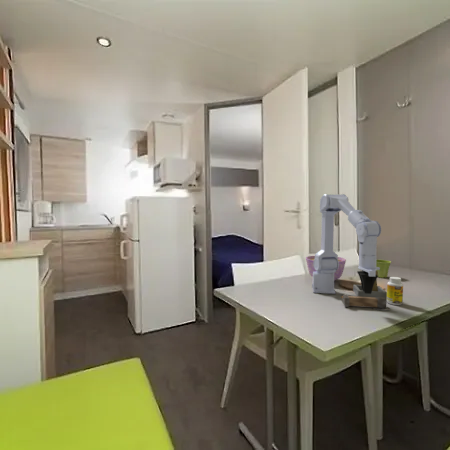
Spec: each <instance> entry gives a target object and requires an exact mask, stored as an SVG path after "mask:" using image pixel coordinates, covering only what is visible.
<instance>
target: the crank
mask: <svg viewBox="0 0 450 450" xmlns="http://www.w3.org/2000/svg"><path fill="white" fill-rule="evenodd" d="M342 296H343V298H342V304H343V306H344V307H345V308H347V307H364V308H365V307H367V308H368V307H369V308H372V307H377V308H381V309H385V308H386V307H387V303H388V302H387V299H386V298H384V297H359V296H357V295H356V296H354V295H348V294H342Z"/></svg>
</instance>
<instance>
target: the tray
mask: <svg viewBox="0 0 450 450" xmlns="http://www.w3.org/2000/svg"><path fill="white" fill-rule="evenodd" d="M352 287H353V289H352V291H353V292H354V294H355V295H356V296H359V297H384V298H386V299H387V290H384V288H382V287H381V286H380V285H377V288H378V291H372V292H371V294H366V293H364V291H363V290H362V286H361V284H353V286H352Z"/></svg>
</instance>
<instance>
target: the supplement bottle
mask: <svg viewBox="0 0 450 450" xmlns="http://www.w3.org/2000/svg"><path fill="white" fill-rule="evenodd" d="M386 284H387V285H386V292H387V302H386V303H388V304H389V305H394V306H402V305H403V297H404V284H403V282H402V278H401V277H398V276H390V277H389V281H388V282H387V283H386Z"/></svg>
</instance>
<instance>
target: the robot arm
mask: <svg viewBox="0 0 450 450" xmlns="http://www.w3.org/2000/svg"><path fill="white" fill-rule="evenodd" d="M339 212H343V213H344V214H345V215H346V216H347V221H348V222H349V223H350V224H351V226H353V227H354V228H355V233H356V235H357V241H358V243H359V244H358V245H359V246H358V247H359V248H358V249H359V250H358V266H357V267H358V270H360V271H358V270H357V274H358V276H359V280H360V285H361V286H362V290H363V291H364V293H366V294H371V292H372V289H373V285H374V283H375V281H376V279H377V280H378V278H379V277H378V275H376V270H380V268H379V267H376V260H377V249H378V247H377V246H378V245H377V244H378V237H380V235H381V234H382V226H381V224H380V223H379V221H377V220H372V219H370V218H369V217H368V216H367V215H366V214H365V213H364V211H363V210H361V209H355V207H354V206H353V205H352V204H351V203H350V202H349V196H347V195H346V194H345V193H342V194H341V193H339V194H337V193H335V194H332V193H331V194H328V193H324V194H323V195H322V196H321V197H320V199H319V213H321V227H320V228H321V229H320V230H321V231H320V232H321V235H320V236H321V237H320V250H318V251H317V252H316V253H315V254H314V256H315V259H314V262H313V265H314V268H315V270H316V272H313V277H312V284H311V288H312V291H313V293H314V294H315V293H317V294H320V293H321V294H332V295H336V294H337V293H336V290H335V280H334V272H336V270H337V269H338V267H339V261H338V257H339V255H338V253H336V252H335V251H334V231H335V230H334V226H335V225H334V224H335V215H336V214H338V213H339Z"/></svg>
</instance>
